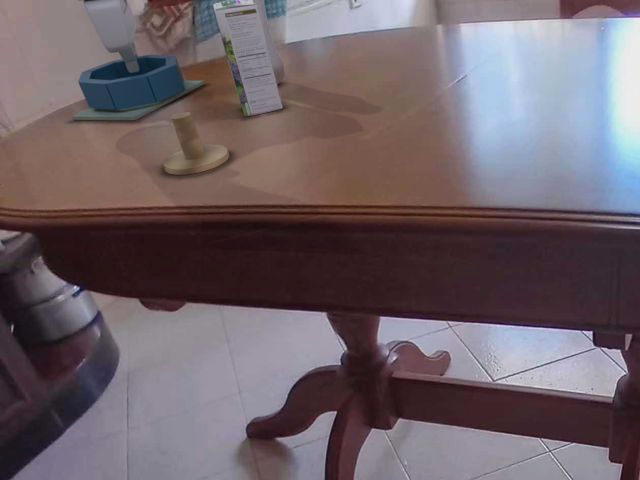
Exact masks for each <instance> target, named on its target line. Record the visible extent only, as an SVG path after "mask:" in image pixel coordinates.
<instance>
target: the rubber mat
mask: <svg viewBox="0 0 640 480" xmlns="http://www.w3.org/2000/svg"><path fill="white" fill-rule="evenodd" d="M204 85H205V81H204V80H184V87H185V90H184V91H181V92H179V93H177V94H175V95H172V96H170V97H168V98H166V99H164V100H161V101H159V102H156V103H151V104H146V105H141V106H135V107H130V108H125V109H119V110H111V109H100V108H90V107H89V108H87V109H85V110H83V111H80V112H78V113H75V114H74V115H71V118H72V120H73V121H137V120H138V119H141V118H142V117H144V116H146V115H148V114H150V113H152V112H154V111H156V110H158V109H159V108H162V107H164V106H165V105H168V104H169V103H171V102H173V101H176V99H177V100H178V99H179V98H181V97H183V96H184V95H187V94H188V93H191V92H192V91H194V90H196V89H198V88H200V87H202V86H204Z"/></svg>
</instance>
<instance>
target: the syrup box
mask: <svg viewBox="0 0 640 480" xmlns="http://www.w3.org/2000/svg"><path fill="white" fill-rule="evenodd" d="M212 7H213V11H214V14H215V17H216V18H215V19H216V21H217V26H218V29H219V34H220V37H221V41H222V45H223V49H224V52H225V57H226V60H227V63H228V67H229V69H230V73H231V77H232V80H233V83H234V87H235V90H236V93H237V97H238V101H239V103H240V107H241V109H242V112H243V115H244V116H245V117H252V116H257V115H260V114H261V115H262V114H265V113H270V112H274V111H278V110H283V109H284V106H283V102H282V98H281V94H280V90H279V87H278V84H277V83H276V79H275V75H274V71H273V67H272V63H271V59H270V55H269V51H268V47H267V43H266V39H265V35H264V31H263V27H262V24H261V20H260V16H259V12H258V9H257V5H256V3H255V2H254V0H227V1H223V0H222V1H218V2H216V3H213V4H212Z"/></svg>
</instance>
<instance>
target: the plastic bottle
mask: <svg viewBox="0 0 640 480" xmlns="http://www.w3.org/2000/svg"><path fill="white" fill-rule="evenodd" d="M223 1H227V0H222V2H223ZM254 2H255V3H256V5H257V9H258V12H259V16H260V20H261V24H262V27H263V31H264V35H265V39H266V43H267V47H268V51H269V55H270V59H271V63H272V67H273V71H274V75H275V79H276V83H277V85H278V84H281V83H282V82H284V79H285V66H284V63H283V60H282V58H281V56H280V54H279V52H278V50H277V47H276V44H275V41H274V38H273V35H272V32H271V29H270V24H269V23H268V16H267V10H266V6H265V5H266V4H265V0H254Z"/></svg>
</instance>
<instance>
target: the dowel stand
mask: <svg viewBox="0 0 640 480" xmlns="http://www.w3.org/2000/svg"><path fill="white" fill-rule="evenodd" d="M170 121H171V122H172V125H173V128H174V131H175V134H176V137H177V139H178V142H179V145H180V148H181V150H178V151H175V152H174V153H172V154H170V155H168V156H167V157H166V158H165V159H164V160H163V161H162V166H163V169H164V171H165V172H166V173H167V174H170V175H177V176H184V175H194V174H198V173H203V172H206V171H209V170H213V169H215V168H217V167H219V166H221V165H223V164H225V163H226V162H227V161H228V159H229V158H230V153H229V149H228V147H226V146H225V145H220V144H203V143H202V141H201V138H200V134H199V132H198V130H197V126H196V123H195V121H194V118H193V115H192V113H191V112H190V111H181V112H177V113H174V114H172V115H171V116H170Z"/></svg>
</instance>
